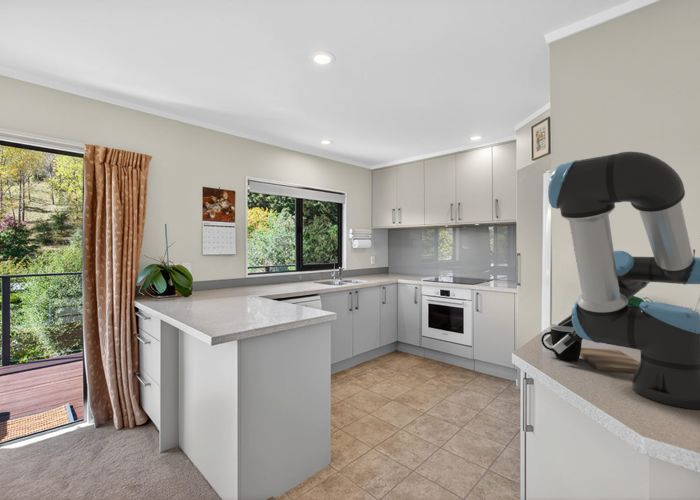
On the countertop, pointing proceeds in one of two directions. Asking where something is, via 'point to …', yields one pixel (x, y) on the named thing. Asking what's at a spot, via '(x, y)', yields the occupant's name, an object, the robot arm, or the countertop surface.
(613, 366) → the walnut board
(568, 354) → the mug
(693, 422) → the countertop surface
